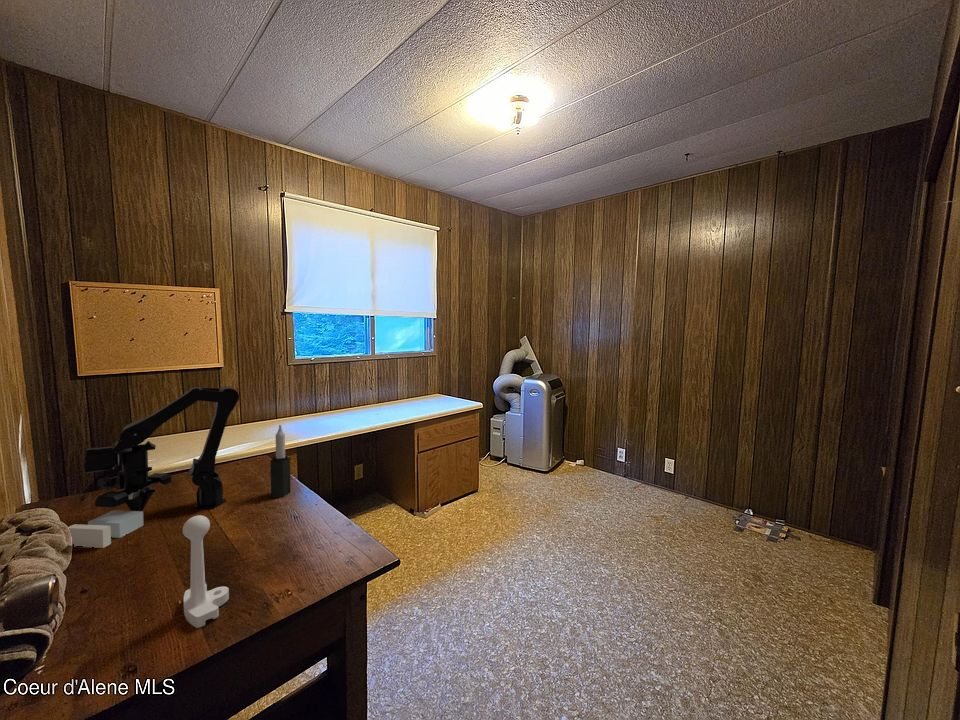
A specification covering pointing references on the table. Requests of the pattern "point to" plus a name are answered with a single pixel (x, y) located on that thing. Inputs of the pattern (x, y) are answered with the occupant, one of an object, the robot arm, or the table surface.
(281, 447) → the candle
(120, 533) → the sled
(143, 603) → the table surface
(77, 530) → the wall
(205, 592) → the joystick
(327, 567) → the table surface
